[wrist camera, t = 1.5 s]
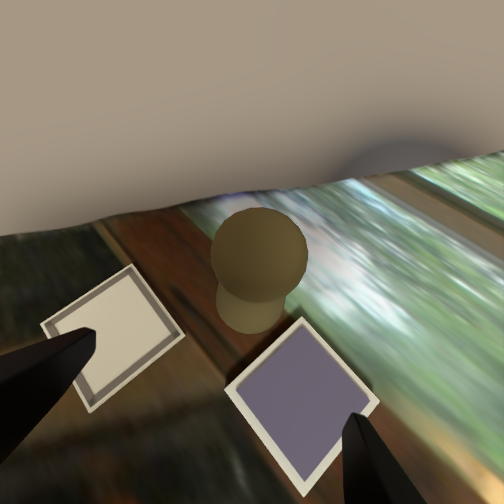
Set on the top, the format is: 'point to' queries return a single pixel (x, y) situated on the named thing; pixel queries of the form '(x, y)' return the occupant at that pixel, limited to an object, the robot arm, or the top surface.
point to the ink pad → (300, 402)
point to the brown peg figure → (256, 267)
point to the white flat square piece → (117, 333)
